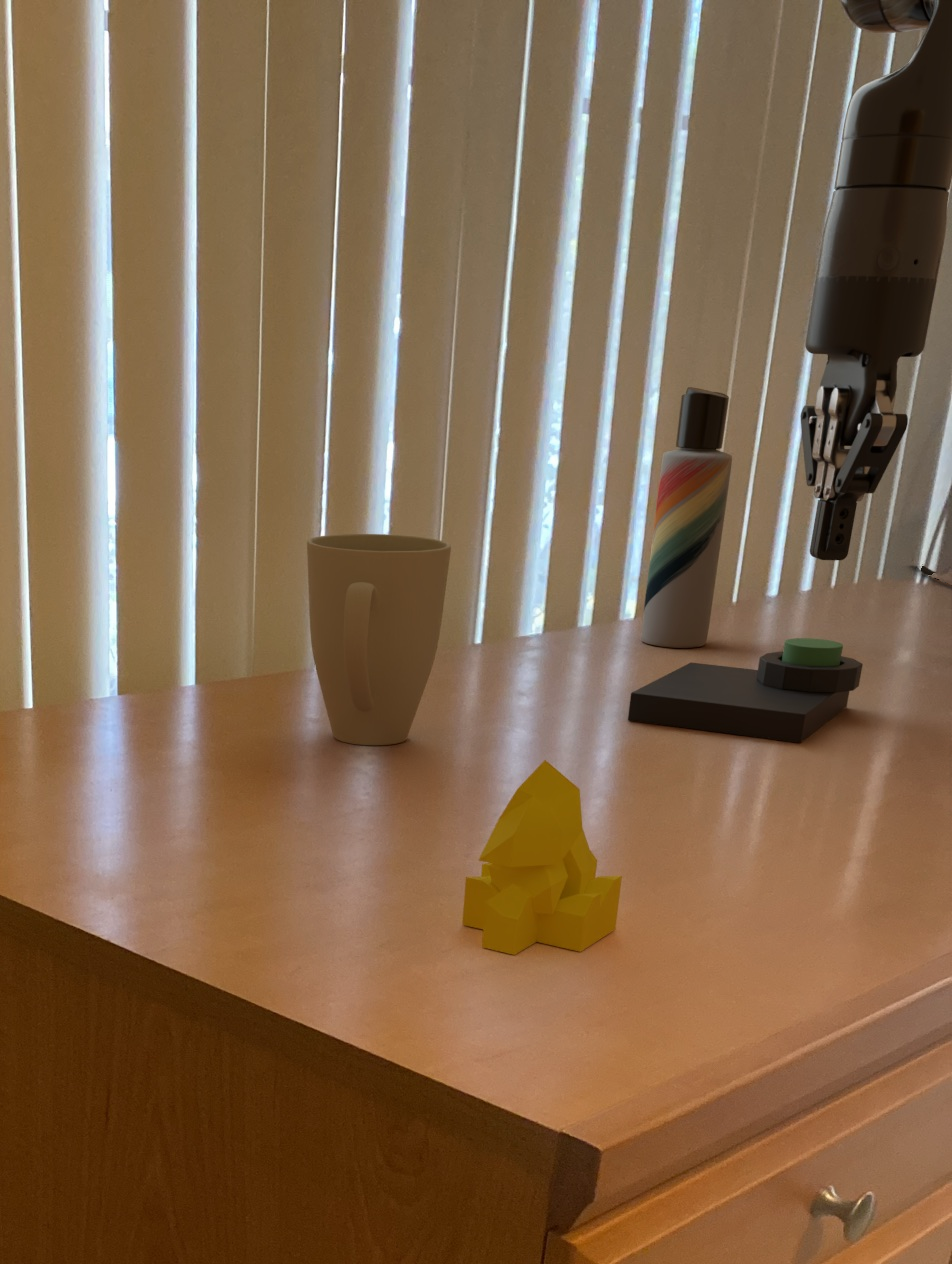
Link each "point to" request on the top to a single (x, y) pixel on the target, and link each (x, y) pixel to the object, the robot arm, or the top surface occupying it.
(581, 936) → the yellow faceted pointed figurine
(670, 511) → the lotion bottle
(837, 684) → the scale
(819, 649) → the button
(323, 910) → the top surface
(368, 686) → the mug
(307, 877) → the top surface
